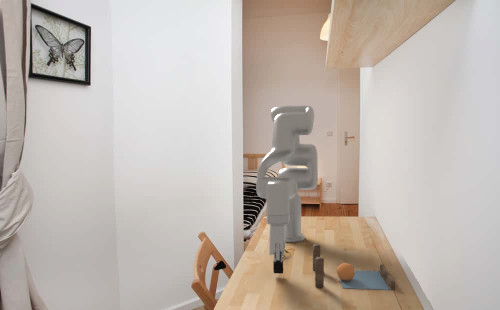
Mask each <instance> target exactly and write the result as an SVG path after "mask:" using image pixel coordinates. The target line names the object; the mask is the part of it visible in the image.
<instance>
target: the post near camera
mask: <svg viewBox="0 0 500 310" xmlns="http://www.w3.org/2000/svg"><path fill="white" fill-rule="evenodd" d="M324 262H325V257H322V256H320V257H316V258H315V272H314V275H315V276H314V279H315V281H314V282H315V283H314V286H315V288H316V289H323V288H324V286H325V284H324V282H325V278H324V277H325V269H324V267H325V266H324V265H325V263H324Z"/></svg>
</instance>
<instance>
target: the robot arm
mask: <svg viewBox="0 0 500 310" xmlns="http://www.w3.org/2000/svg"><path fill="white" fill-rule="evenodd" d="M270 117H271V120H272V123H273V125H272V141H271V150H270V152H268V153H266V155H265V156H264V157H263V158H262V160H261V161H260V163H259V165H258V168H257V172H256V182H255V183H256V184H255V186H256V188H255V191H256V194H257V196H258V197H259V198H261V199H266V224H268V225H269V231H268V232H269V233H268V234H269V235H268V236H269V249H268V250H269V251H268V252H269V255H270V256H272V255H273V253H274V255H273V261H272V262H273V263H272V265H273V274H283V273H284V256H283V255H285V250H286V243H299V242H302V241H304V240H305V238H306V237H305V235H304V234H303V233H302V199H301V196H300V195H299V193H298V191H300V190H303V191H312V190H315V189H316V188H317V187H318V183H319V182H318V181H319V180H318V177H319V176H318V175H319V174H318V171H319V170H318V169H319V167H318V149H317V147H316V146H315V145H314V144H312V143H301V142H300V136H309V135H311V134H312V131H313V129H314V128H313V127H314V122H315V111H314V108H313V107H312V106H310V105H279V106H275V107H273V108H272V109H271V110H270ZM280 162H281V164H282V165H284V166H292V167H284V168H281V169H280V170H278V171H277V175H276V177H275V176H266V174H267V172H268V170H269V169H270V168H271V167H272V166H274V165H275V164H277V163H280ZM293 166H296V167H293ZM299 166H300V167H299Z"/></svg>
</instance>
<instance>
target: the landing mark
mask: <svg viewBox="0 0 500 310" xmlns="http://www.w3.org/2000/svg"><path fill="white" fill-rule="evenodd" d="M354 271H355V274H354V277H353V278H352V279H351V280H349V281H344V280H342V279H340V278H339V281H340V284H341V287H342V289H350V290H351V289H352V290H377V291H378V290H380V291H391V289H390V287H389V285H388V284H387V282H386V281H385V279H384V277H383V276H382V274H381V272H380V270H379V271H378V270H357V269H354Z"/></svg>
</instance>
